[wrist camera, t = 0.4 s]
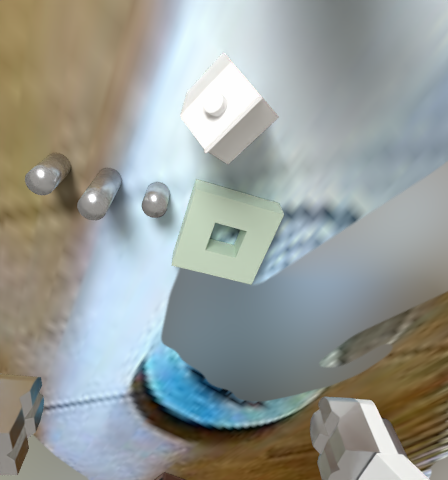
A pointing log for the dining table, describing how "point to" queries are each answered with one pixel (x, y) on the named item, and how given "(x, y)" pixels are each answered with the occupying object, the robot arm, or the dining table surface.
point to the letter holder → (168, 477)
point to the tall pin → (99, 194)
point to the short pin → (156, 200)
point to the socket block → (233, 215)
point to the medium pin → (48, 174)
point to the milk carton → (225, 110)
